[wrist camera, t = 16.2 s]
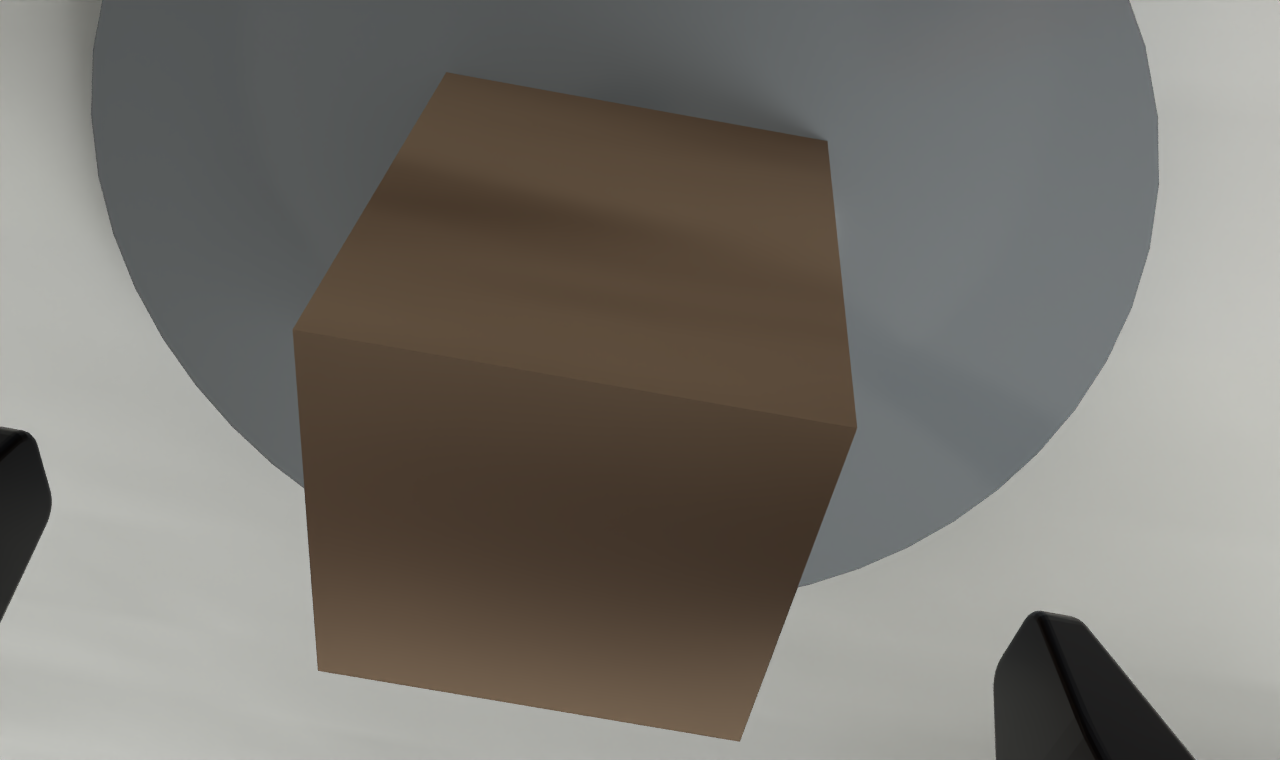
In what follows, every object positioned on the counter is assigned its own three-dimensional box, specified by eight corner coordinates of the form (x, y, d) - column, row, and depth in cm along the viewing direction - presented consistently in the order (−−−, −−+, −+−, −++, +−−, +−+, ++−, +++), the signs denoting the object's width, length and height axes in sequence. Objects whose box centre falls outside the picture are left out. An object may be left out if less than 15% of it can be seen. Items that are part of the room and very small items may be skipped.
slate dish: (1273, 343, 15) (1308, 399, 14) (550, 635, 20) (539, 688, 19) (780, -750, 9) (782, -785, 8) (-59, 96, 14) (-117, 136, 13)
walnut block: (746, 424, 15) (739, 741, 11) (436, 370, 15) (318, 670, 11) (827, 140, 12) (857, 429, 8) (445, 71, 12) (293, 328, 8)
